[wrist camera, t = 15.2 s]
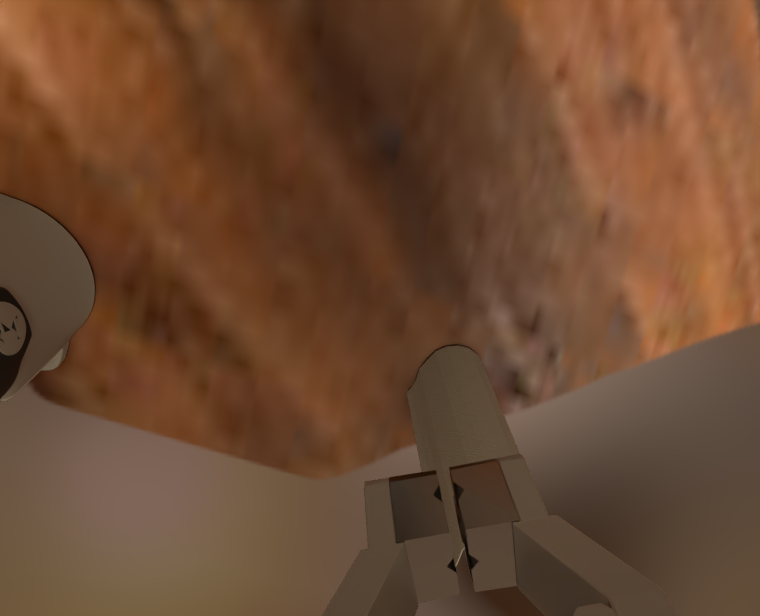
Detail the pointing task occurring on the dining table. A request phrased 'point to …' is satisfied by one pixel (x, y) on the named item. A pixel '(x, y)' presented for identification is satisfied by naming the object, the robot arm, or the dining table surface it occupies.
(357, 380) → the dining table surface
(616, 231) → the dining table surface
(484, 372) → the paper towel roll
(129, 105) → the dining table surface
